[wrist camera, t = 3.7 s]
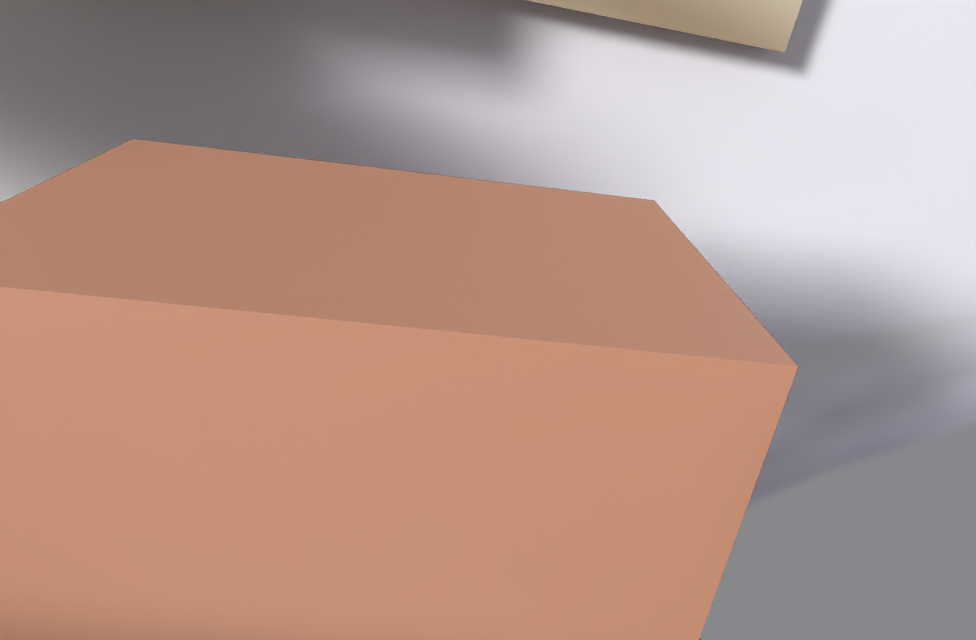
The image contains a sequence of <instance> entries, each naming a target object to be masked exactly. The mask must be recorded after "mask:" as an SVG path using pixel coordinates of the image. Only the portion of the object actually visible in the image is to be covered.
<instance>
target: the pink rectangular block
mask: <svg viewBox="0 0 976 640" xmlns="http://www.w3.org/2000/svg"><path fill="white" fill-rule="evenodd" d="M797 369H798V365H797V364H796V363H795V362H794V361H793V359H792V358H791V357H790V356H789V355H788V354H787V353H786V351H785V350H784V349H783V348H782V347H781V346H780V344H779V343H778V342H777V341H776V340H775V339H774V338H773V336H772V335H771V334H770V333H769V332H768V331H767V330H766V328H765V327H764V326H763V325H762V324H761V323H760V322H759V320H758V319H757V318H756V317H755V316H754V315H753V313H752V312H751V311H750V310H749V309H748V308H747V307H746V305H745V304H744V303H743V302H742V301H741V300H740V299H739V297H738V296H737V295H736V294H735V293H734V292H733V290H732V289H731V288H730V287H729V286H728V285H727V284H726V282H725V281H724V280H723V279H722V278H721V277H720V276H719V274H718V273H717V272H716V271H715V270H714V269H713V267H712V266H711V265H710V264H709V263H708V262H707V261H706V259H705V258H704V257H703V256H702V255H701V254H700V253H699V251H698V250H697V249H696V248H695V247H694V246H693V245H692V243H691V242H690V241H689V240H688V239H687V238H686V236H685V235H684V234H683V233H682V232H681V231H680V230H679V228H678V227H677V226H676V225H675V224H674V223H673V222H672V220H671V219H670V218H669V217H668V216H667V215H666V213H665V212H664V211H663V210H662V209H661V208H660V207H659V205H658V204H657V203H656V202H655V201H654V200H646V199H638V198H629V197H621V196H612V195H604V194H595V193H587V192H578V191H570V190H562V189H553V188H545V187H536V186H528V185H519V184H511V183H502V182H494V181H486V180H477V179H469V178H460V177H452V176H443V175H435V174H426V173H418V172H410V171H401V170H393V169H384V168H376V167H367V166H359V165H350V164H342V163H334V162H325V161H317V160H308V159H300V158H291V157H283V156H274V155H266V154H258V153H249V152H241V151H232V150H224V149H215V148H207V147H198V146H190V145H182V144H173V143H165V142H156V141H148V140H139V139H131V140H129V141H127V142H125V143H123V144H121V145H119V146H117V147H115V148H113V149H111V150H108V151H106V152H104V153H102V154H100V155H98V156H96V157H94V158H92V159H90V160H88V161H86V162H84V163H82V164H80V165H78V166H75V167H73V168H71V169H69V170H67V171H65V172H63V173H61V174H59V175H57V176H55V177H53V178H51V179H49V180H47V181H44V182H42V183H40V184H38V185H36V186H34V187H32V188H30V189H28V190H26V191H24V192H22V193H20V194H18V195H16V196H13V197H11V198H9V199H7V200H5V201H3V202H1V203H0V640H699V638H700V635H701V633H702V630H703V627H704V624H705V622H706V619H707V616H708V613H709V611H710V608H711V605H712V602H713V600H714V597H715V594H716V591H717V589H718V586H719V583H720V580H721V578H722V575H723V572H724V569H725V567H726V564H727V561H728V558H729V556H730V553H731V550H732V548H733V545H734V542H735V539H736V536H737V534H738V531H739V528H740V526H741V523H742V520H743V517H744V515H745V512H746V509H747V506H748V504H749V501H750V498H751V495H752V493H753V490H754V487H755V484H756V482H757V479H758V476H759V473H760V471H761V468H762V465H763V462H764V460H765V457H766V454H767V451H768V449H769V446H770V443H771V440H772V438H773V435H774V432H775V429H776V427H777V424H778V421H779V418H780V416H781V413H782V410H783V407H784V405H785V402H786V399H787V396H788V394H789V391H790V388H791V385H792V383H793V380H794V377H795V374H796V372H797Z"/></svg>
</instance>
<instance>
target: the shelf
mask: <svg viewBox="0 0 976 640" xmlns="http://www.w3.org/2000/svg"><path fill="white" fill-rule="evenodd" d="M527 1H532V2H537V3H542V4H547V5H552V6H557V7H562V8H567V9H572V10H576V11H581V12H586V13H591V14H596V15H601V16H606V17H611V18H616V19H621V20H626V21H631V22H636V23H641V24H646V25H651V26H656V27H661V28H665V29H670V30H675V31H680V32H685V33H690V34H695V35H700V36H705V37H710V38H715V39H720V40H725V41H730V42H735V43H740V44H745V45H749V46H754V47H759V48H764V49H769V50H774V51H779V52H784V53H785V51H786V48H787V45H788V42H789V39H790V36H791V34H792V31H793V28H794V25H795V22H796V19H797V16H798V13H799V10H800V7H801V4H802V1H803V0H527Z"/></svg>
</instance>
